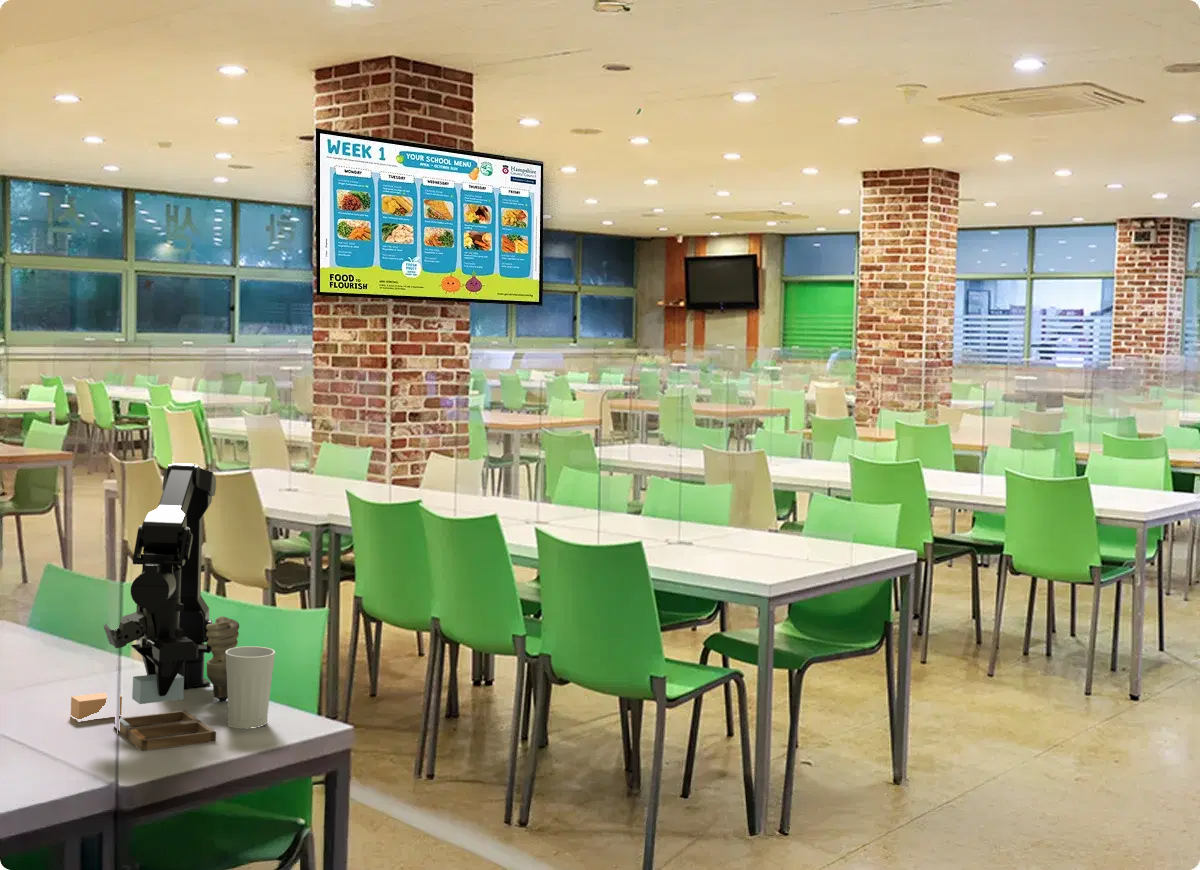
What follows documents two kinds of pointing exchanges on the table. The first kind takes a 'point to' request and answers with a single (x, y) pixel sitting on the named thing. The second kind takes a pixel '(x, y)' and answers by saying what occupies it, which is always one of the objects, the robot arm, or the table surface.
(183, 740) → the divided wooden tray
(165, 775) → the table surface
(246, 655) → the cup
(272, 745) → the table surface
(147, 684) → the slate bar
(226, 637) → the light bulb
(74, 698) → the terracotta bar
